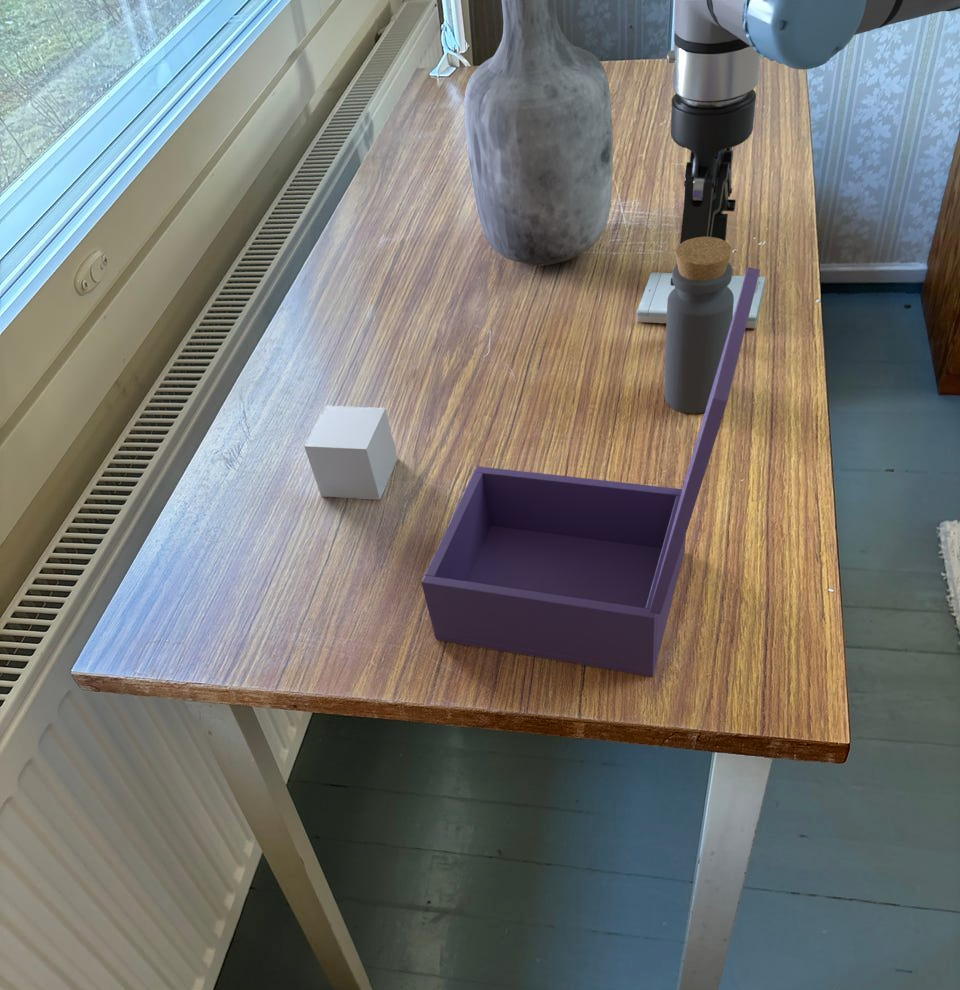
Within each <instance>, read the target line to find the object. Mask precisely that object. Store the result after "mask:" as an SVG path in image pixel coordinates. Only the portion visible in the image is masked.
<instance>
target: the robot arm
mask: <svg viewBox="0 0 960 990" xmlns="http://www.w3.org/2000/svg"><path fill="white" fill-rule="evenodd" d="M956 10H960V0H674V23H673V24H674V31H673V33H674V36H673V43H674V44H673V50H672V49H671V50H669V51H668V53H667V55H666V61H667V62H668V63H669V64H674V67H673V70H672V72H673V73H672V89H673V91H674V93H675V94H674V95H673V96H672V98H671V110H670V111H671V112H670V137H671V139H672V140H673V142H674V143H675V144H676V145H677V146H679V147H681V148H683V149H687V150H688V151H690V156H689V161H688V162H687V161H686V166H685V172H684V179H685V180H684V181H683V182H684V183H683V186H684V197H683V209H682V210H683V211H682V221H681V228H680V229H681V230H680V240H679V245H680V244H681V243H683V242H684V241H686V240H689V239H692V238H697V237H715V238H719V239H722V240H724V241H726V240H727V229H728V228H727V227H728V216H729V215H728V214H729V213H724V212H735V210H736V203H737V202H736V201H737V200H736V199H729V198H730V197H731V194H733V188H732V174H733V173H732V170H733V169H732V168H733V166H732V165H733V160H734V150H733V148H734V147H737V146H739V145H741V144H743V143H745V141H747V140H748V139H749V138H750V137H751V135H752V133H753V131H754V124H755V123H754V122H755V112H756V101H757V92H756V91H755V88H756V87H757V85H758V83H759V77H760V66H761V58H766V59H767V60H769V61H770V62H774V61H775V62H777V63H778V65H779V64H780V65H784V66H786V67H788V68H791V69H794V70H802V71H803V70H804V71H805V70H812V69H815V68H816V69H817V68H818V67H820V66H823V65H825V64H826V63H827V62H829V61H831V59H832V58H833V57H834V56H836V55H837V54H838V53H839V52H840V51H842V50H844V49H845V48H846V47H847V45H849V43H850V42H851V40H852V39H853V37H855V36H857V35H859V34H860V35H861V34H863V33H864V34H865V33H867V32H870V31H873V30H874V31H875V30H876V29H881V28H883V27H885V26H890V25H894V24H897V23H902V22H906V21H909V20H913V19H917V18H921V17H926V16H929V15H933V14H937V13H940V12H954V11H956ZM726 242H727V241H726ZM671 286H674V284H673V281H672V278H671ZM675 288H676V287H675Z"/></svg>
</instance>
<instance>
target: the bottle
mask: <svg viewBox="0 0 960 990" xmlns="http://www.w3.org/2000/svg"><path fill="white" fill-rule="evenodd" d="M732 253H733V252H732V246H731V245H730V243H729V242H727V241H724V240H722V239H719V238H715V237H697V238H692V239H689V240H686V241H684V242H683V243H681V244H680V243H679V245H678V246H676V249H675V259H676V264H675V265H674V267H673V269H672V272H671V273H672V281H673V284H674V286H675V287H676V288H674V289H673V290H672V291H671V293H670V294H669V296H668V301H667V323H665V325H666V326H665V327H666V328H665V356H664V357H665V359H664V361H665V362H664V400H665V402H666V404H667V405H668V406H669V407H670V408H671V409H673V410H675V411H677V412H680V413H684V414H689V415H690V414H691V415H692V414H693V415H694V414H695V415H696V414H705V410H706V407H707V403H708V400H709V397H710V393H711V390H712V386H713V383H714V380H715V376H716V373H717V369H718V366H719V363H720V359H721V356H722V352H723V349H724V346H725V342H726V339H727V335H728V332H729V329H730V325H731V322H732V317H733V304H734V296H733V293H732V291H731V290H730V289H729V288H728V287H727V286H728V285H729V283H730V282H731V279H732V276H733V267H732V265H731V263H730V258H731V255H732Z"/></svg>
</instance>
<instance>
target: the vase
mask: <svg viewBox="0 0 960 990" xmlns="http://www.w3.org/2000/svg"><path fill="white" fill-rule="evenodd" d="M501 7H502V17H503V29H502V30H503V31H502V37H501V41H500V43H499V45H498V48H497V49H496V51H495V53H494V55H493V56H491V57H490V58H488V59H486V60H484V62H482V63H481V64H480V65H479V66H477V68H476V69H475V70H474V72H473V73H472V74H471V76H470V77H469V79H468V81H467V84H466V87H465V93H464V97H463V98H464V100H463V102H464V103H463V104H464V105H463V106H464V107H463V110H464V111H463V116H464V117H463V118H464V128H465V129H464V130H465V140H466V149H467V150H466V151H467V157H468V165H469V171H470V179H471V184H472V191H473V195H474V201H475V207H476V212H477V215H478V219H479V223H480V226H481V229H482V232H483V234H484V236H485V239H486V240H487V241H488V243H489V245H490V246H491V248H492V249H493V250H494V251H495V252H496V253H497V254H499V255H501V256H502V257H504V258H505V259H508V260H510V261H513V262H516V263H519V264H524V265H529V266H530V265H531V266H548V265H549V266H550V265H555V264H559V263H563V262H567V261H569V260H571V259H574V258H576V257H578V256H580V255H582V254H584V253H585V252H587V251H589V249H591V248H592V247H593V246H594V245H595V244H596V243H598V241H599V239H600V238H601V237H602V236H603V233H604V232H605V230H606V227H607V225H608V221H609V217H610V212H611V206H612V205H611V204H612V193H613V171H614V159H613V158H614V135H613V134H614V133H613V132H614V131H613V113H612V101H611V100H612V99H611V91H610V85H609V83H610V82H609V80H608V76H607V72H606V70H605V67H604V65H603V64H602V62H601V61H600V60H599V58H598V57H597V56H595V55H594V54H592V53H591V52H590V51H589V50H587V49H585V48H582V47H579V46H576V45H572V43H571V42H570V41H569V40H568V39H567V37H566V36H565V35H564V32H563V31H562V29H561V26H560V23H559V17H558V10H557V9H558V8H557V0H501Z"/></svg>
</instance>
